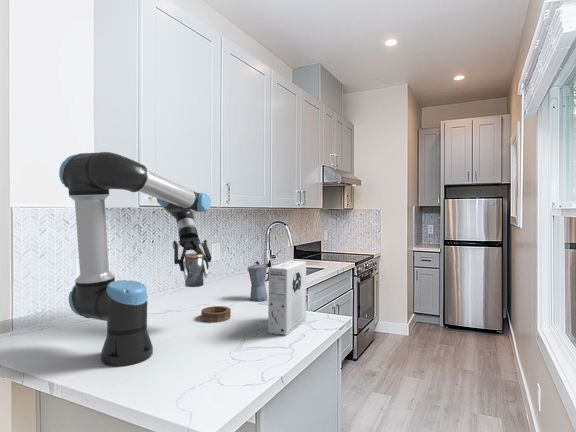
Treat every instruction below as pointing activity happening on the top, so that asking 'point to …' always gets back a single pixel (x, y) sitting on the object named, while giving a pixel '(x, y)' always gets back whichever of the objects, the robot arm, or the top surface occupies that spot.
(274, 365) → the top surface
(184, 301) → the top surface
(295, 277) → the cereal box
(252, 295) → the moka pot
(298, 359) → the top surface
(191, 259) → the canister
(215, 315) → the wooden bowl
